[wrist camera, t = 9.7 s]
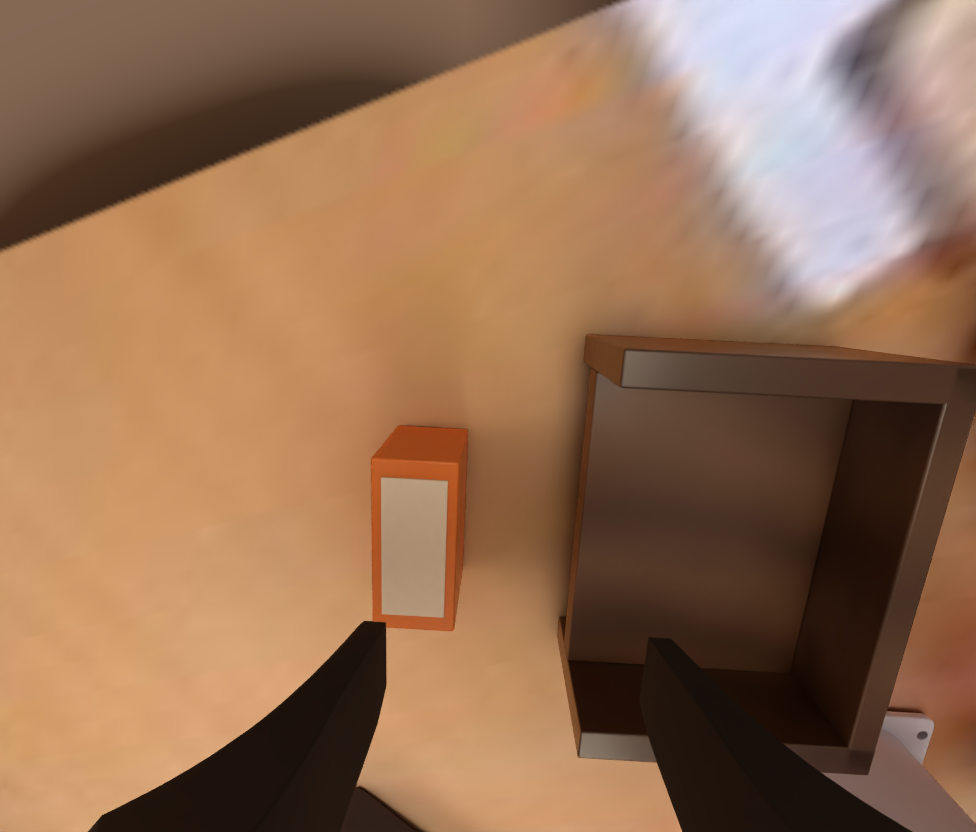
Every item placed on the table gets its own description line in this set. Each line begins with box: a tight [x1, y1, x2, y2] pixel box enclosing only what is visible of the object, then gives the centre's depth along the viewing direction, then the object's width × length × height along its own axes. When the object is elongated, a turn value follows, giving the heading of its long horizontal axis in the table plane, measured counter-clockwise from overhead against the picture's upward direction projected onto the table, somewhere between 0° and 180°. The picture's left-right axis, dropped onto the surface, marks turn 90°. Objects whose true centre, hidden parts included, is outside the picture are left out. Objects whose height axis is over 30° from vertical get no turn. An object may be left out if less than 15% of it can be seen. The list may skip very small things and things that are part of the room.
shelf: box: [557, 334, 976, 775], centre depth 19 cm, size 15×11×6 cm
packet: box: [371, 426, 468, 631], centre depth 20 cm, size 7×3×5 cm, turn 177°
